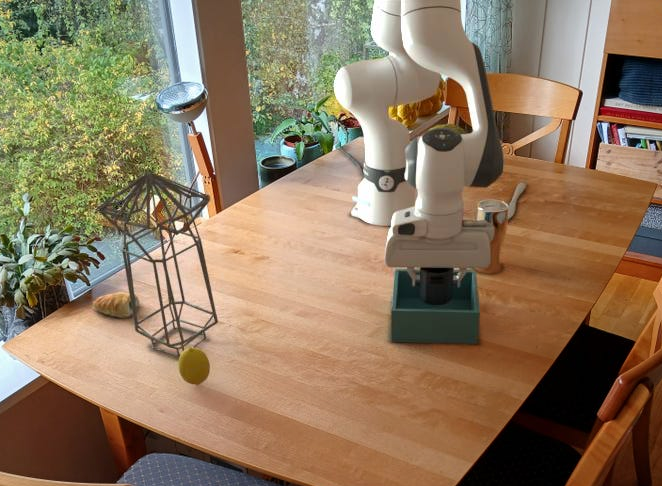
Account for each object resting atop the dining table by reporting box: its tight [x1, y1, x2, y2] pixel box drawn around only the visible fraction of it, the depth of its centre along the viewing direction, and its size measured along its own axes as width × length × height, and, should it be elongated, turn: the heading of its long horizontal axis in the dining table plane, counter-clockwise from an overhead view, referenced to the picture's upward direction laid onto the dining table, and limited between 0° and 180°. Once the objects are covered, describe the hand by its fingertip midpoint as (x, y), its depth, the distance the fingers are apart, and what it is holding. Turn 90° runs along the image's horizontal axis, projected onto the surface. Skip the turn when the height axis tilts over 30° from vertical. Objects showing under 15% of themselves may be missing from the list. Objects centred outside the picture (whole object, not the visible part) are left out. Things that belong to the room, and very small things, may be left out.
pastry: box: [92, 291, 140, 319], centre depth 158 cm, size 9×7×4 cm
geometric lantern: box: [93, 172, 219, 358], centre depth 137 cm, size 16×16×35 cm
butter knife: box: [508, 182, 527, 220], centre depth 196 cm, size 1×27×3 cm
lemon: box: [177, 346, 211, 386], centre depth 133 cm, size 6×6×8 cm
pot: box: [419, 268, 455, 305], centre depth 145 cm, size 9×6×7 cm
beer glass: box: [473, 198, 509, 275], centre depth 163 cm, size 7×7×15 cm
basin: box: [390, 268, 481, 345], centre depth 148 cm, size 17×17×7 cm
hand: (435, 285), depth 146 cm, fingers closed on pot, 6 cm apart
